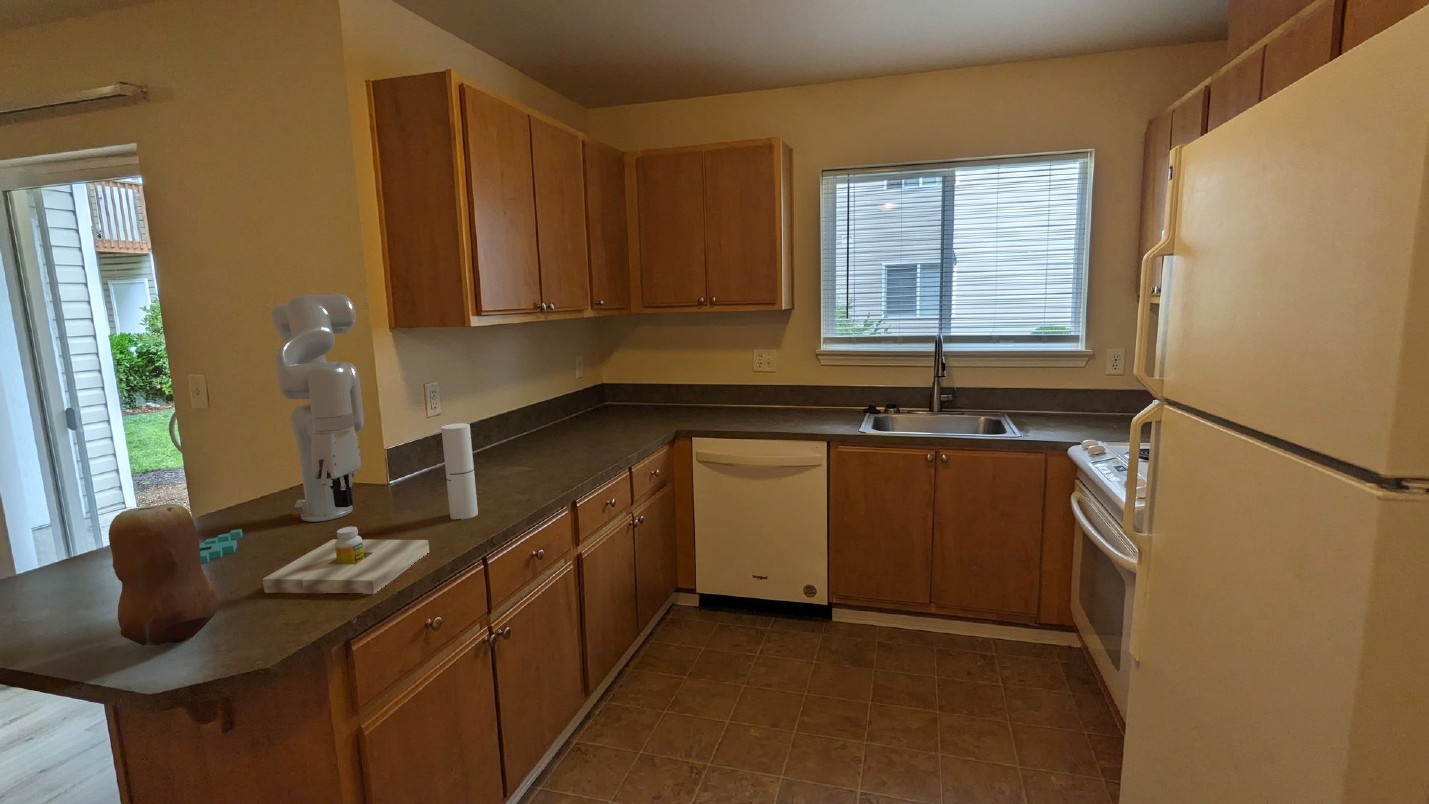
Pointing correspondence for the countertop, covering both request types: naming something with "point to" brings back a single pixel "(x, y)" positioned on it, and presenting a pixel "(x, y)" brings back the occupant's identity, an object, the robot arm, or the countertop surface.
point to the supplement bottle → (349, 546)
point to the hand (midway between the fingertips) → (344, 506)
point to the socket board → (347, 568)
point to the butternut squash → (160, 575)
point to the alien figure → (219, 546)
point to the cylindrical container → (459, 470)
